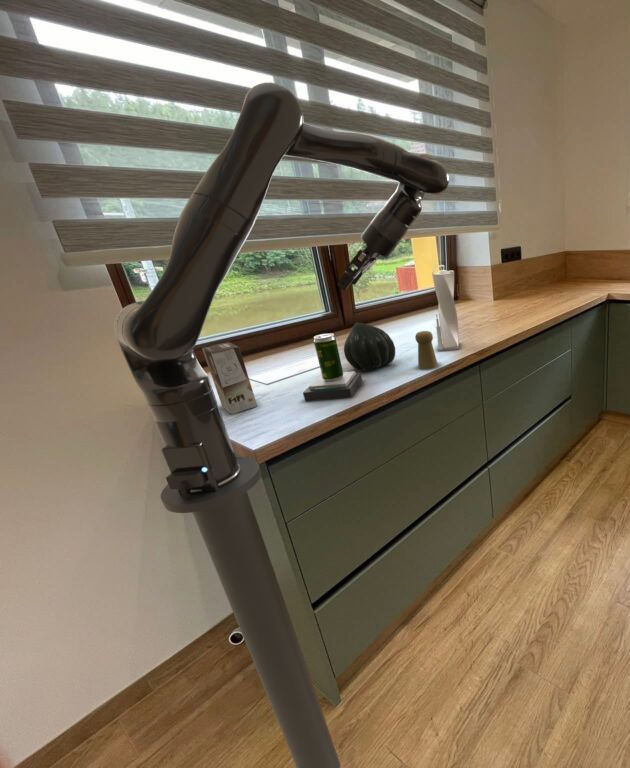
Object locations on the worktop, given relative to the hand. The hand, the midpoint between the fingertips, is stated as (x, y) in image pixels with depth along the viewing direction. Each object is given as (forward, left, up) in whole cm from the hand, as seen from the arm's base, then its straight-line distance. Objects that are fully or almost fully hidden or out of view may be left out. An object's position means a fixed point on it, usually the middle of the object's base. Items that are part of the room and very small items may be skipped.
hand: (345, 284), depth 103 cm
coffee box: (-1, +33, -29) cm, 44 cm away
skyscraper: (+39, -20, -29) cm, 53 cm away
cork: (+19, -14, -29) cm, 37 cm away
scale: (+4, +10, -29) cm, 30 cm away
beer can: (+4, +9, -25) cm, 27 cm away
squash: (+23, +4, -29) cm, 37 cm away
